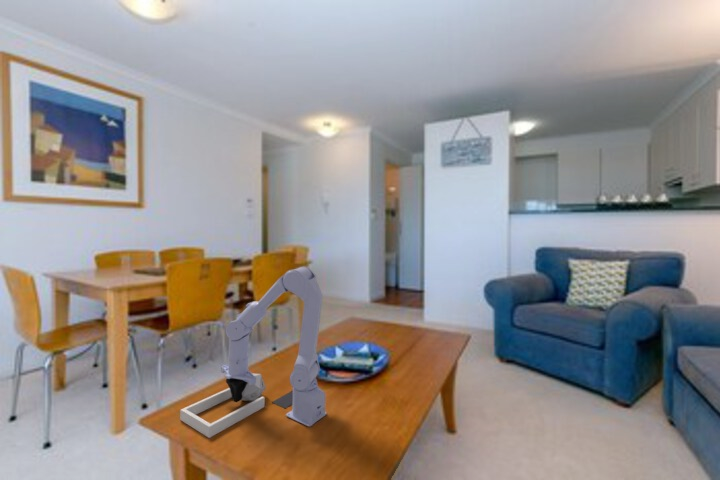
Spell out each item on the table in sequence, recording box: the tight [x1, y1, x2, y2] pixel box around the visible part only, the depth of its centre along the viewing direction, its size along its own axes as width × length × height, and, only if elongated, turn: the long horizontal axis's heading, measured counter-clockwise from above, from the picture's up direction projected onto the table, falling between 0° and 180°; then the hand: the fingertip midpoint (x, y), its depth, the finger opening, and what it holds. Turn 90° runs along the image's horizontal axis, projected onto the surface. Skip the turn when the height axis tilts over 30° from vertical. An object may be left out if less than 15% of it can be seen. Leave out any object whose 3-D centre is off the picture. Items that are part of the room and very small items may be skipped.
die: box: [240, 372, 267, 402], centre depth 106 cm, size 8×9×10 cm
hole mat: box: [271, 389, 293, 409], centre depth 106 cm, size 6×10×1 cm, turn 147°
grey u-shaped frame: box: [179, 387, 266, 439], centre depth 97 cm, size 14×18×3 cm
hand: (237, 400), depth 101 cm, fingers closed, pressing on die
